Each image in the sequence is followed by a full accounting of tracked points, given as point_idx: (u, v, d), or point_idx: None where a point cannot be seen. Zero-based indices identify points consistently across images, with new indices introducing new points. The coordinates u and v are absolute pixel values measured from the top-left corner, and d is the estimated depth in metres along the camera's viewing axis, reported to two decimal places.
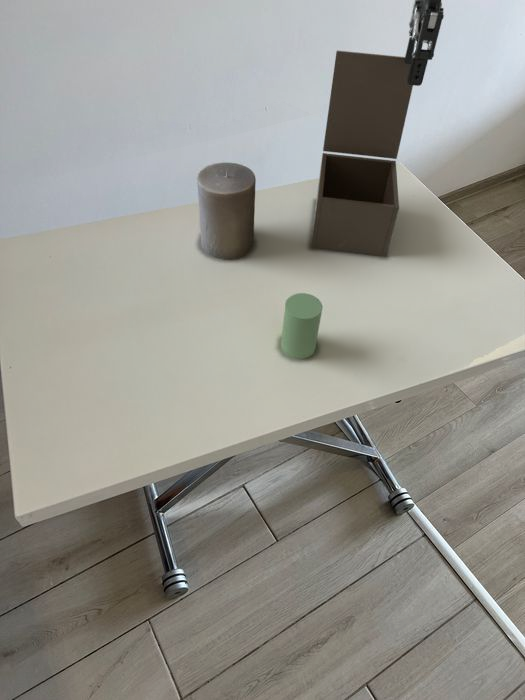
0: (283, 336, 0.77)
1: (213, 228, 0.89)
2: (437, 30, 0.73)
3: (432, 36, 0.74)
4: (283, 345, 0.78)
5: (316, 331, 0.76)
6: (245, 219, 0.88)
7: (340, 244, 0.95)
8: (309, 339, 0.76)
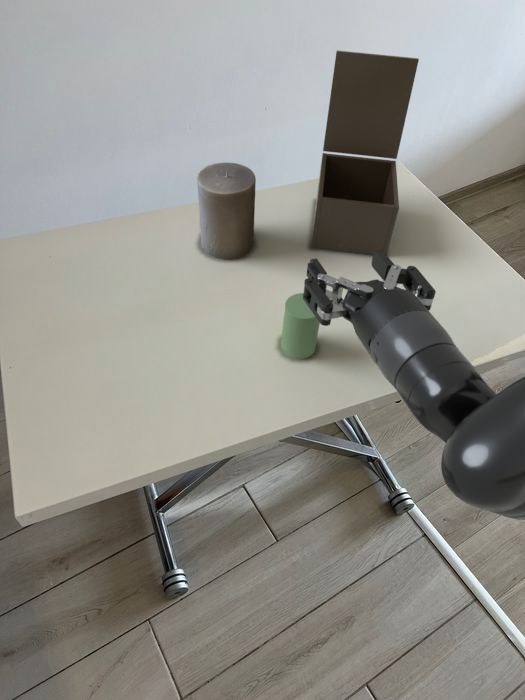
0: (283, 336, 0.77)
1: (213, 228, 0.89)
2: None
3: None
4: (283, 345, 0.78)
5: (316, 331, 0.76)
6: (246, 219, 0.88)
7: (340, 244, 0.95)
8: (309, 339, 0.76)
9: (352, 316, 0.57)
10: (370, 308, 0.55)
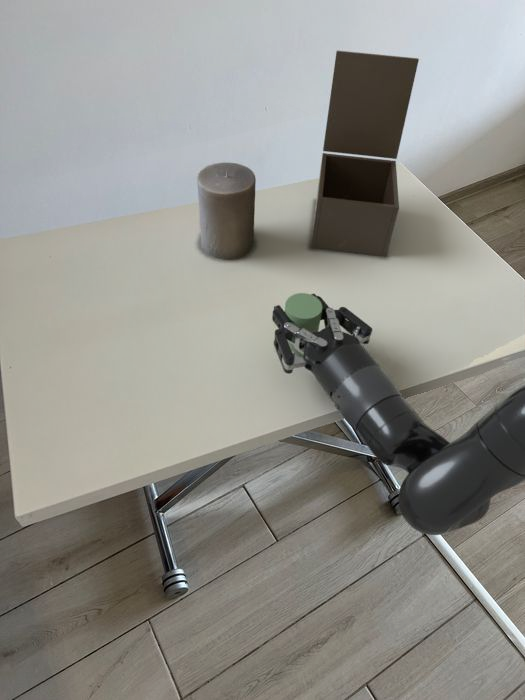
0: None
1: (213, 228, 0.89)
2: None
3: None
4: None
5: (316, 331, 0.76)
6: (246, 219, 0.88)
7: (340, 244, 0.95)
8: None
9: (313, 368, 0.69)
10: (328, 365, 0.66)
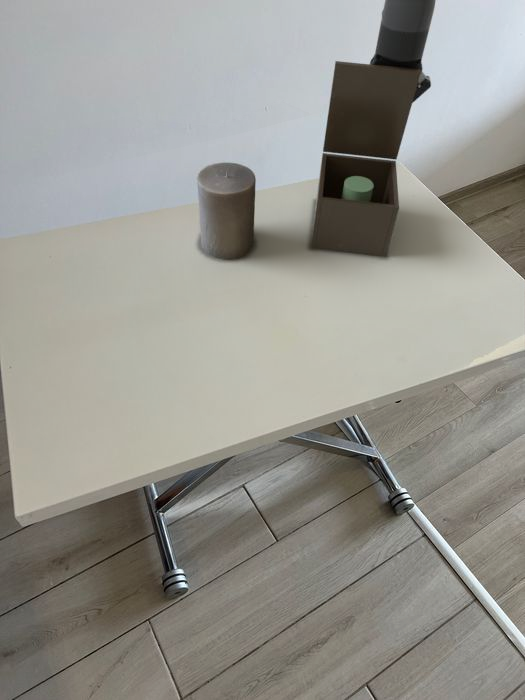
0: None
1: (213, 228, 0.89)
2: None
3: None
4: None
5: None
6: (246, 219, 0.88)
7: (340, 244, 0.95)
8: None
9: None
10: (419, 52, 0.83)
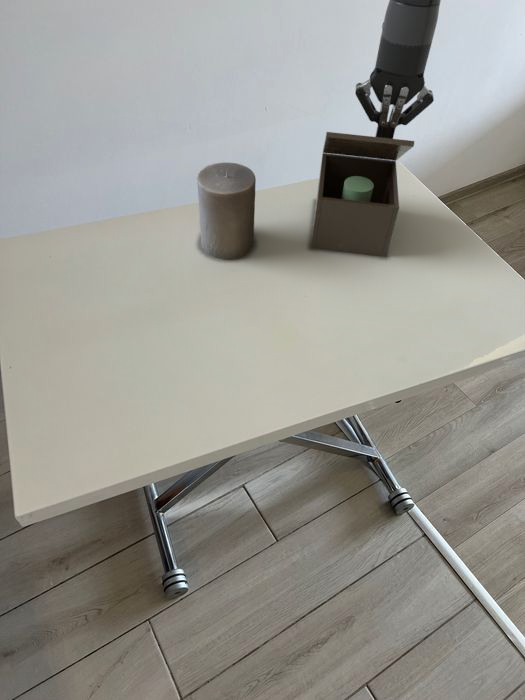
0: None
1: (213, 228, 0.89)
2: (360, 102, 0.85)
3: None
4: None
5: None
6: (246, 219, 0.88)
7: (340, 244, 0.95)
8: None
9: (423, 73, 0.82)
10: (422, 66, 0.79)
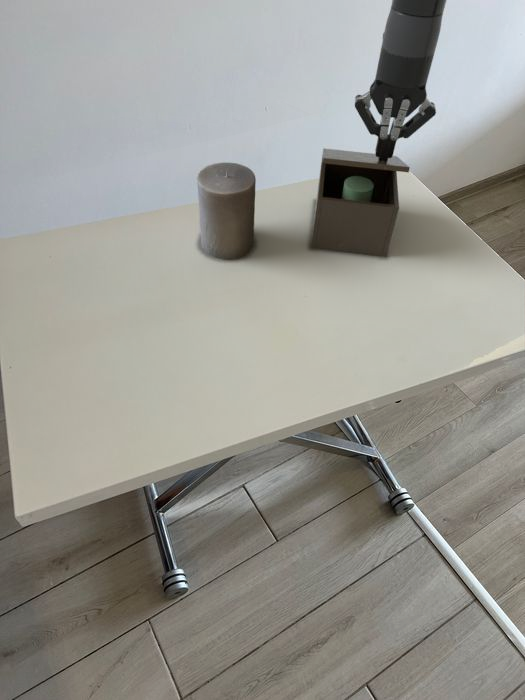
0: None
1: (213, 228, 0.89)
2: (359, 114, 0.82)
3: None
4: None
5: None
6: (246, 219, 0.88)
7: (340, 244, 0.95)
8: None
9: (425, 85, 0.79)
10: (424, 78, 0.76)
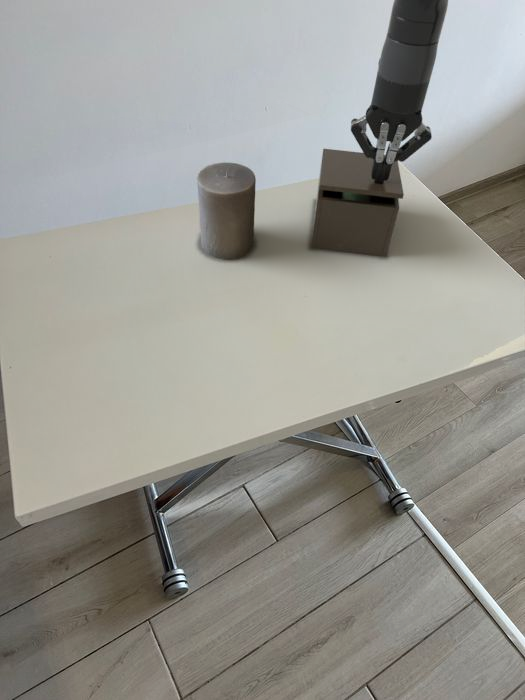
0: None
1: (213, 228, 0.89)
2: (355, 138, 0.83)
3: None
4: None
5: None
6: (246, 219, 0.88)
7: (340, 244, 0.95)
8: None
9: None
10: (419, 104, 0.76)
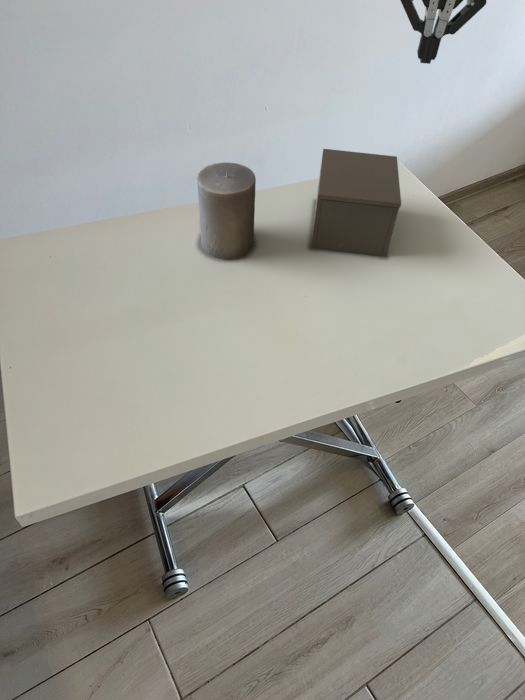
0: None
1: (213, 228, 0.89)
2: None
3: None
4: None
5: None
6: (246, 219, 0.88)
7: (340, 244, 0.95)
8: None
9: None
10: None
